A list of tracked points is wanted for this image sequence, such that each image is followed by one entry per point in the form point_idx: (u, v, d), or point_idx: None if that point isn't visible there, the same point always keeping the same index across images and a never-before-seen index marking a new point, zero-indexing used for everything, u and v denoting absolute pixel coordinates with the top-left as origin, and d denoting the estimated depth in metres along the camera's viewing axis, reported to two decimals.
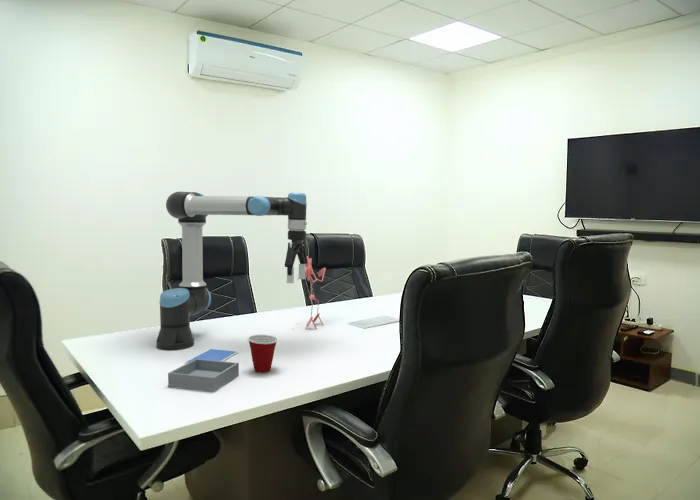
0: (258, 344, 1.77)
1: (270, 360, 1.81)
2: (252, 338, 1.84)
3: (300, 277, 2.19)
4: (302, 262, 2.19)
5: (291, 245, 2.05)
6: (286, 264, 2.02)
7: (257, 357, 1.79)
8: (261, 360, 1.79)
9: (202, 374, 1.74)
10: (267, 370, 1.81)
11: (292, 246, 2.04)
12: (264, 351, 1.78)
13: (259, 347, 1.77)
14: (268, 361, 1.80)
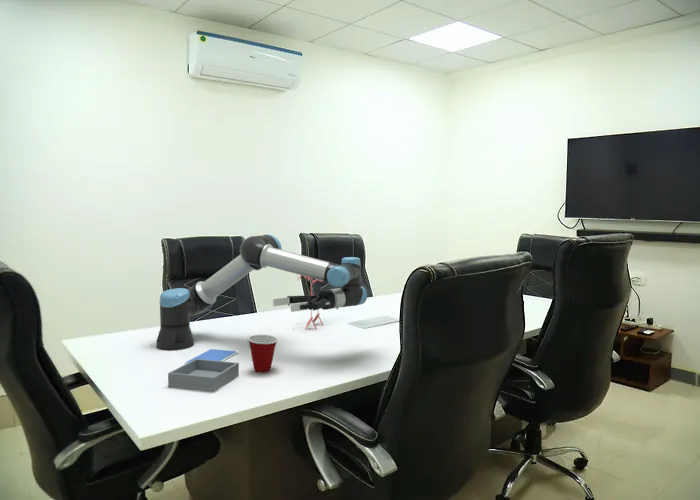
0: (258, 344, 1.77)
1: (270, 360, 1.81)
2: (252, 338, 1.84)
3: (275, 301, 1.91)
4: (290, 300, 1.95)
5: (327, 304, 1.88)
6: (315, 305, 1.81)
7: (257, 357, 1.79)
8: (261, 360, 1.79)
9: (202, 374, 1.74)
10: (267, 370, 1.81)
11: (326, 305, 1.88)
12: (264, 351, 1.78)
13: (259, 347, 1.77)
14: (268, 361, 1.80)
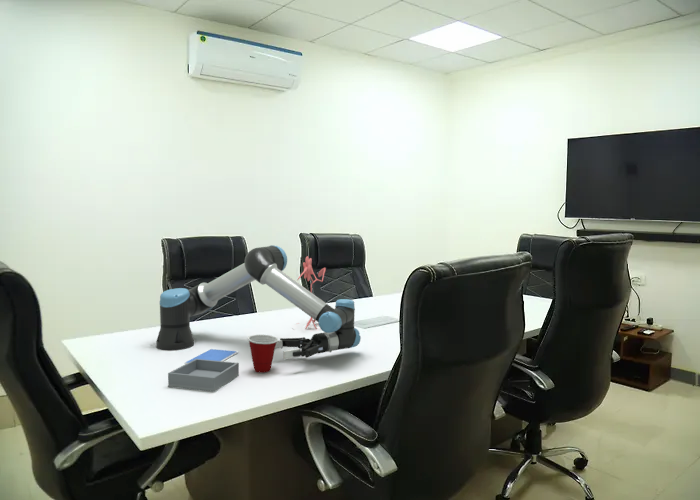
0: (258, 344, 1.77)
1: (270, 360, 1.81)
2: (252, 338, 1.84)
3: None
4: (282, 343, 1.94)
5: (320, 349, 1.87)
6: (307, 352, 1.80)
7: (257, 357, 1.79)
8: (261, 360, 1.79)
9: (202, 374, 1.74)
10: (267, 370, 1.81)
11: (319, 351, 1.87)
12: (264, 351, 1.78)
13: (259, 347, 1.77)
14: (268, 361, 1.80)
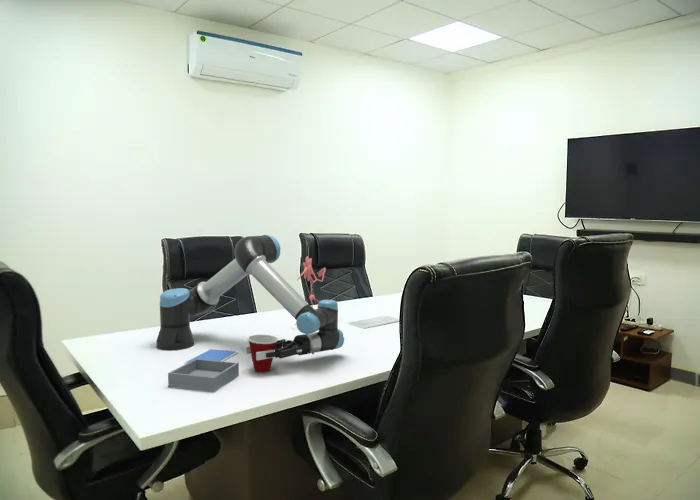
0: (257, 344, 1.77)
1: (270, 360, 1.81)
2: (252, 338, 1.84)
3: (247, 348, 1.83)
4: None
5: (299, 351, 1.83)
6: (281, 353, 1.78)
7: None
8: (261, 360, 1.79)
9: (202, 374, 1.74)
10: (267, 370, 1.81)
11: (298, 353, 1.83)
12: (264, 350, 1.78)
13: (259, 346, 1.78)
14: (268, 361, 1.80)
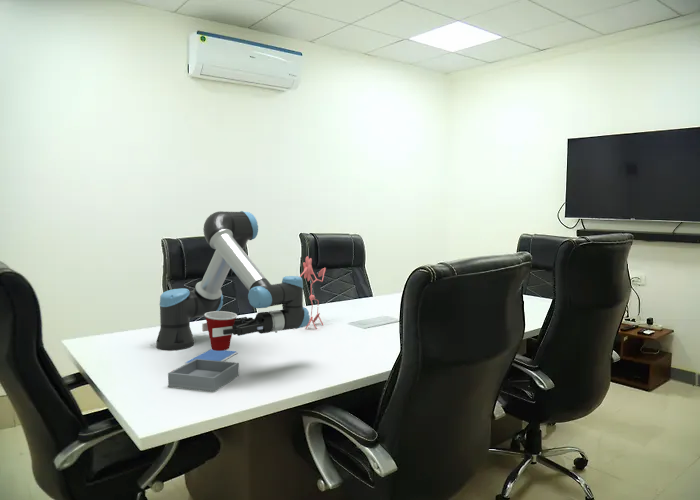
0: (214, 320, 1.66)
1: (228, 337, 1.70)
2: (210, 314, 1.73)
3: (204, 325, 1.72)
4: None
5: (259, 329, 1.73)
6: (239, 330, 1.67)
7: None
8: (218, 337, 1.68)
9: (202, 374, 1.74)
10: (225, 348, 1.70)
11: (258, 330, 1.72)
12: None
13: (216, 323, 1.67)
14: (226, 338, 1.69)
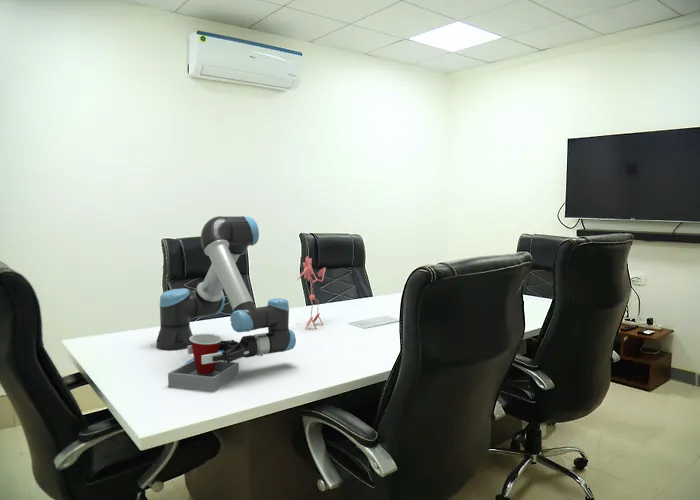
0: (199, 345, 1.68)
1: None
2: (195, 337, 1.75)
3: (190, 348, 1.74)
4: None
5: (246, 353, 1.71)
6: (229, 357, 1.65)
7: (198, 358, 1.69)
8: None
9: (202, 374, 1.74)
10: (209, 372, 1.71)
11: (245, 355, 1.71)
12: (206, 351, 1.69)
13: (200, 347, 1.68)
14: None
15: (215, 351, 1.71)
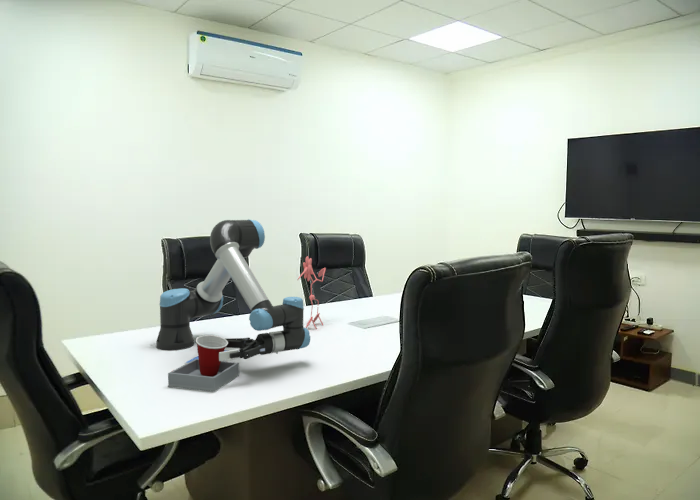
0: (204, 348, 1.68)
1: (217, 364, 1.72)
2: (201, 339, 1.75)
3: None
4: None
5: (262, 350, 1.74)
6: (245, 354, 1.67)
7: (203, 360, 1.70)
8: (206, 364, 1.70)
9: None
10: (213, 374, 1.72)
11: (261, 352, 1.74)
12: (211, 355, 1.69)
13: (206, 350, 1.68)
14: (214, 365, 1.71)
15: None
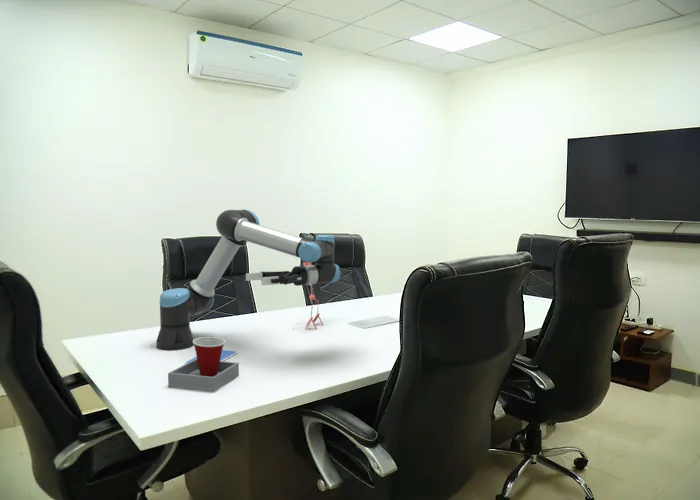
0: (201, 347, 1.69)
1: (216, 364, 1.72)
2: (199, 340, 1.76)
3: (248, 275, 1.93)
4: (263, 275, 1.97)
5: (299, 279, 1.90)
6: (285, 279, 1.83)
7: (201, 360, 1.70)
8: (205, 364, 1.70)
9: None
10: (213, 374, 1.72)
11: (298, 280, 1.90)
12: (208, 354, 1.70)
13: (203, 350, 1.69)
14: (213, 365, 1.71)
15: (218, 354, 1.72)
